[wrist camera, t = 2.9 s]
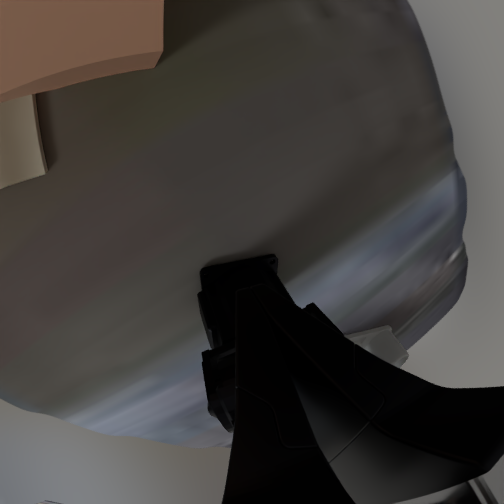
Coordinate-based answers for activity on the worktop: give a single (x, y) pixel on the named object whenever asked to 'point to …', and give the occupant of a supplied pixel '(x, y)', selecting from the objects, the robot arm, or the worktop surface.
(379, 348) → the phone holder
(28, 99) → the birch board
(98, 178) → the worktop surface
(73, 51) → the terracotta block
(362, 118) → the worktop surface
